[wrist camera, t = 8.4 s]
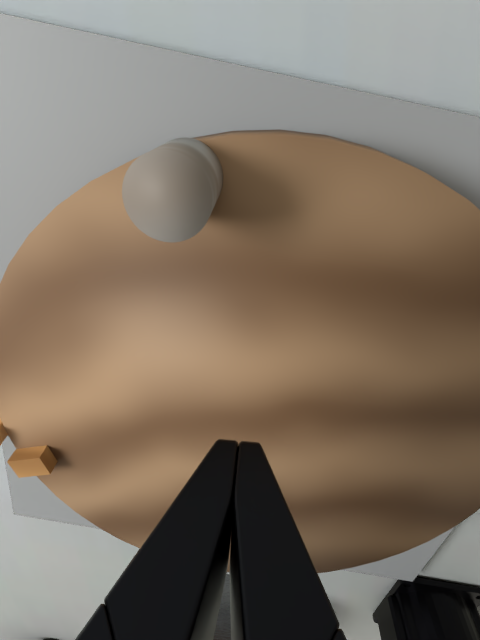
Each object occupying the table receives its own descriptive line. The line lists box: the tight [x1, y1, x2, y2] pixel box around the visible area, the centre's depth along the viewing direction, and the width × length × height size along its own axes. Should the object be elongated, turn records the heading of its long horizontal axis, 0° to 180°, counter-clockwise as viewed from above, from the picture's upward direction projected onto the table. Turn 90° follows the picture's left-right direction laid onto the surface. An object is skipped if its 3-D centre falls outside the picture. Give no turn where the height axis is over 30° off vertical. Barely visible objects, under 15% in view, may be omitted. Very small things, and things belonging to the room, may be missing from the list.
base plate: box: [0, 13, 480, 582], centre depth 20 cm, size 28×28×4 cm
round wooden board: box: [0, 129, 480, 573], centre depth 18 cm, size 25×25×5 cm
